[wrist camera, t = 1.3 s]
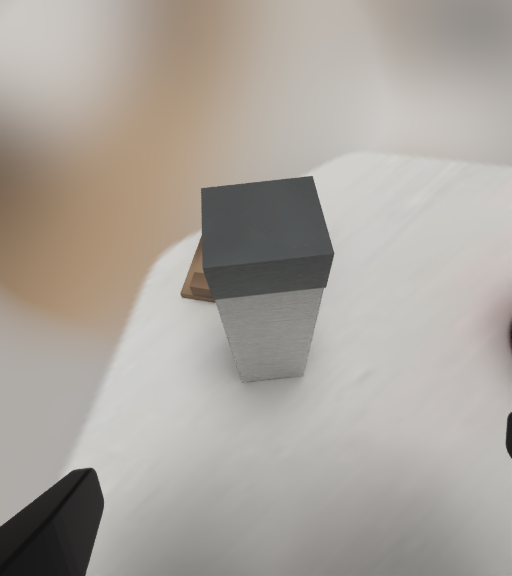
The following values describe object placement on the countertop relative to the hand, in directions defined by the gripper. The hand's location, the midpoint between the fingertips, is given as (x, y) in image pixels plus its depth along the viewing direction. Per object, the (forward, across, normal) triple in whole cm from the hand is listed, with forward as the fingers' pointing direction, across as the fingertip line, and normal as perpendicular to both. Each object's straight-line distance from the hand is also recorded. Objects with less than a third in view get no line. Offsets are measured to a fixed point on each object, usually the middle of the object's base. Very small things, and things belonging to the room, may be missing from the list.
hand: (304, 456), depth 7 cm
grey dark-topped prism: (+14, 0, +4) cm, 15 cm away
